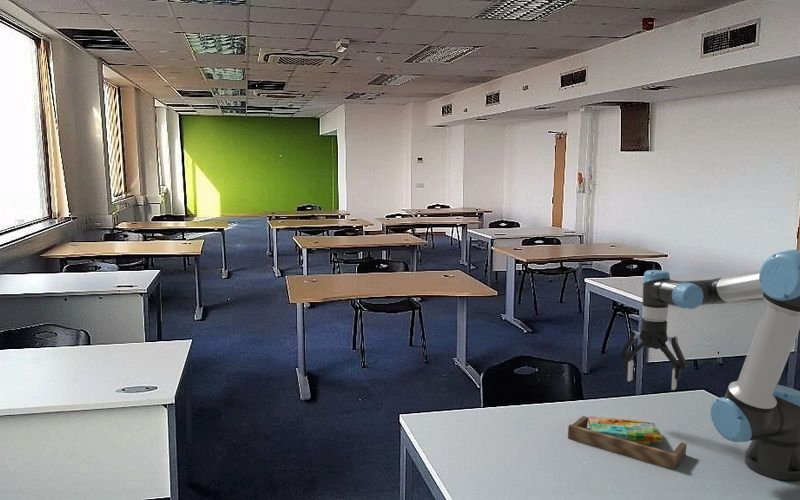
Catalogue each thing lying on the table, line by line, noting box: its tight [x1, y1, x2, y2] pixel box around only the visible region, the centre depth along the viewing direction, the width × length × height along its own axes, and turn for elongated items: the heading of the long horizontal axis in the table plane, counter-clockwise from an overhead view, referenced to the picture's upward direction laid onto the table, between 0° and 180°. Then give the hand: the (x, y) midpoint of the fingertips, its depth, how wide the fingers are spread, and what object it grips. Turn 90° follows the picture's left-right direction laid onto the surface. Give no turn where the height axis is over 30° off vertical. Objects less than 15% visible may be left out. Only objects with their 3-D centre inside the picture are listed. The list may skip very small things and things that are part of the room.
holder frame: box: [567, 415, 688, 471], centre depth 186 cm, size 31×12×4 cm, turn 52°
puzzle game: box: [587, 416, 664, 446], centre depth 192 cm, size 12×5×20 cm
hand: (651, 384), depth 200 cm, fingers open, 13 cm apart
